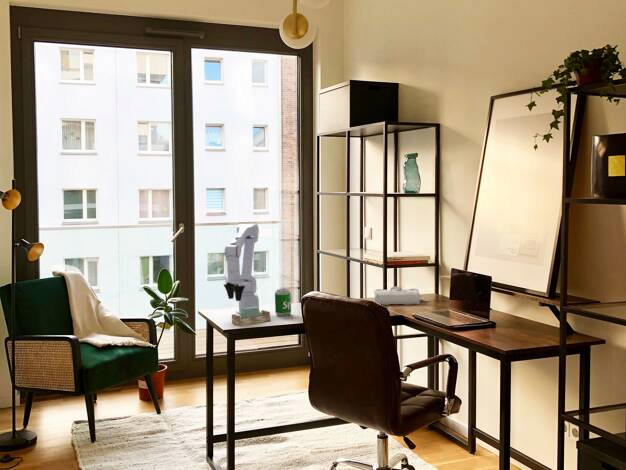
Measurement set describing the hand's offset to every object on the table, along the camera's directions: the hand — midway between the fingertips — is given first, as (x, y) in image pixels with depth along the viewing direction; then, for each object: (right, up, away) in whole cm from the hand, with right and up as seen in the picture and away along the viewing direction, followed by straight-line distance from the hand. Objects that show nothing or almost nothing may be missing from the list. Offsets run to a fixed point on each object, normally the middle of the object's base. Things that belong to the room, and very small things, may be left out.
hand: (234, 299), depth 330 cm
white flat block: (+82, -5, +34) cm, 89 cm away
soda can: (+22, -8, +9) cm, 25 cm away
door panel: (+8, -9, -6) cm, 13 cm away
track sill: (+8, -10, -6) cm, 14 cm away
